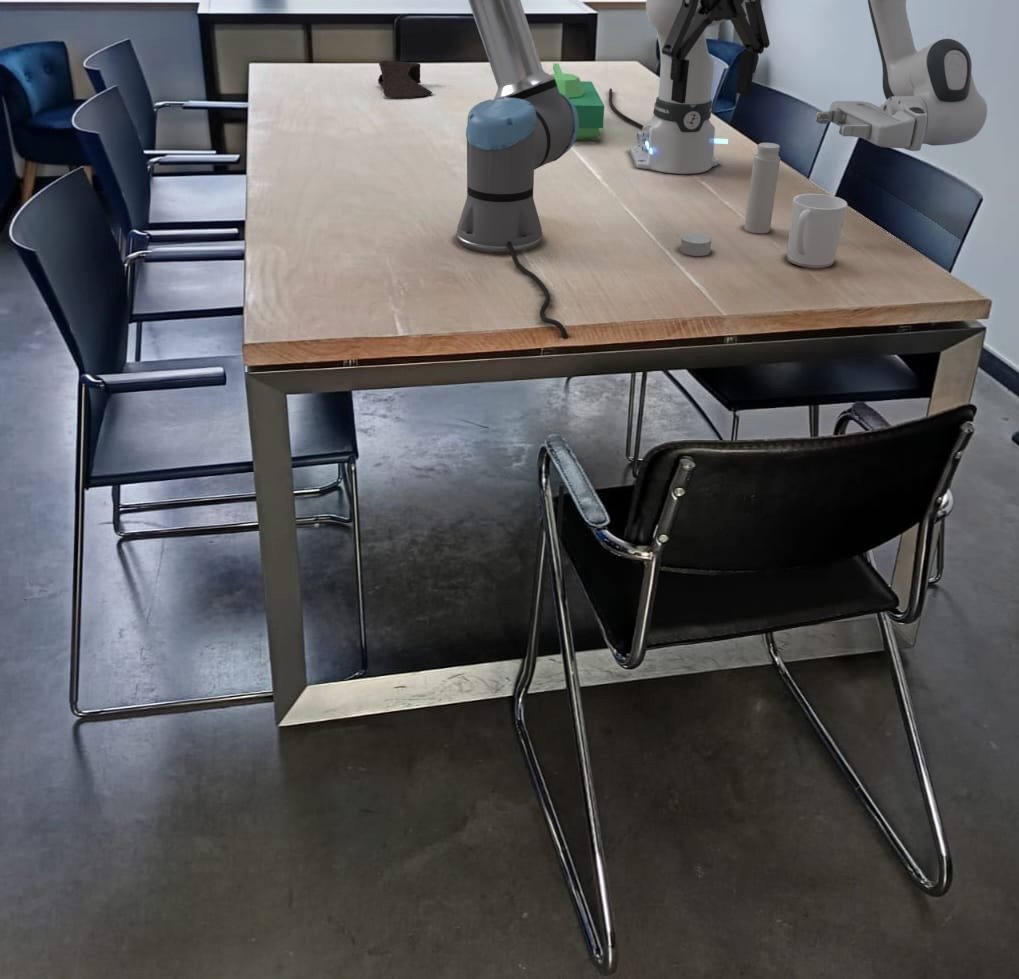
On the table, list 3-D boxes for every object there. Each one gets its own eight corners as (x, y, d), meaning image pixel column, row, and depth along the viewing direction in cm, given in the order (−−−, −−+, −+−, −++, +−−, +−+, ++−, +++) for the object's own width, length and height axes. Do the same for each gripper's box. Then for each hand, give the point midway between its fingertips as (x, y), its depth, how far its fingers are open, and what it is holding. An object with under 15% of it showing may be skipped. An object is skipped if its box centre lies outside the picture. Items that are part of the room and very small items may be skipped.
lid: (715, 251, 193) (717, 238, 192) (699, 258, 190) (700, 245, 189) (691, 244, 196) (692, 231, 195) (674, 251, 193) (675, 238, 192)
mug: (798, 248, 195) (807, 190, 190) (845, 259, 190) (856, 201, 185) (769, 263, 188) (777, 204, 182) (816, 276, 183) (827, 215, 178)
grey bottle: (747, 233, 202) (759, 148, 194) (741, 225, 206) (752, 141, 198) (772, 233, 202) (785, 148, 194) (766, 225, 206) (778, 141, 198)
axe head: (443, 87, 294) (392, 77, 287) (436, 115, 299) (385, 106, 292) (421, 62, 307) (371, 52, 300) (414, 89, 311) (365, 80, 304)
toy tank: (589, 59, 279) (605, 88, 249) (586, 109, 285) (601, 143, 256) (520, 58, 278) (528, 87, 248) (518, 108, 284) (526, 142, 255)
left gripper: (677, -40, 160) (663, 109, 171) (804, -46, 171) (783, 95, 182) (647, -46, 166) (635, 100, 177) (772, -51, 177) (754, 86, 188)
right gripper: (874, 91, 206) (806, 93, 203) (932, 116, 189) (859, 119, 186) (868, 125, 209) (801, 128, 207) (924, 153, 192) (852, 156, 190)
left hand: (711, 98), depth 180 cm, fingers open, 13 cm apart
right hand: (829, 124), depth 196 cm, fingers open, 8 cm apart
